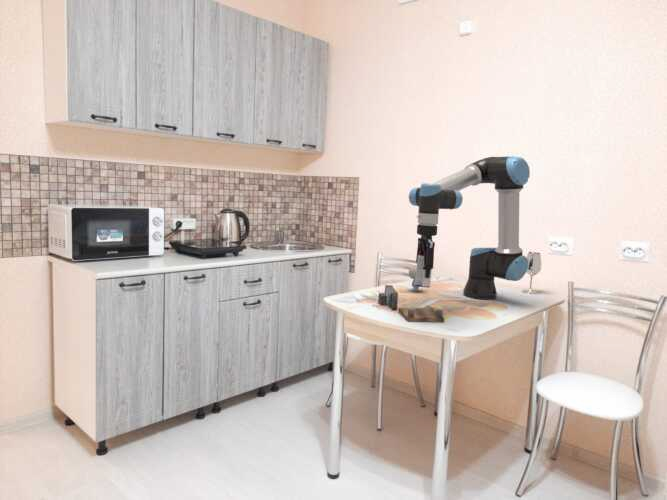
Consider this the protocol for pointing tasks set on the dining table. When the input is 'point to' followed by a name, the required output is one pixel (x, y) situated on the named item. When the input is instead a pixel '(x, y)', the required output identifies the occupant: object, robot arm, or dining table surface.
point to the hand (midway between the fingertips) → (422, 284)
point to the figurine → (413, 277)
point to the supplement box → (420, 271)
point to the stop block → (382, 299)
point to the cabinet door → (417, 312)
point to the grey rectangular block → (389, 293)
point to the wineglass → (533, 268)
